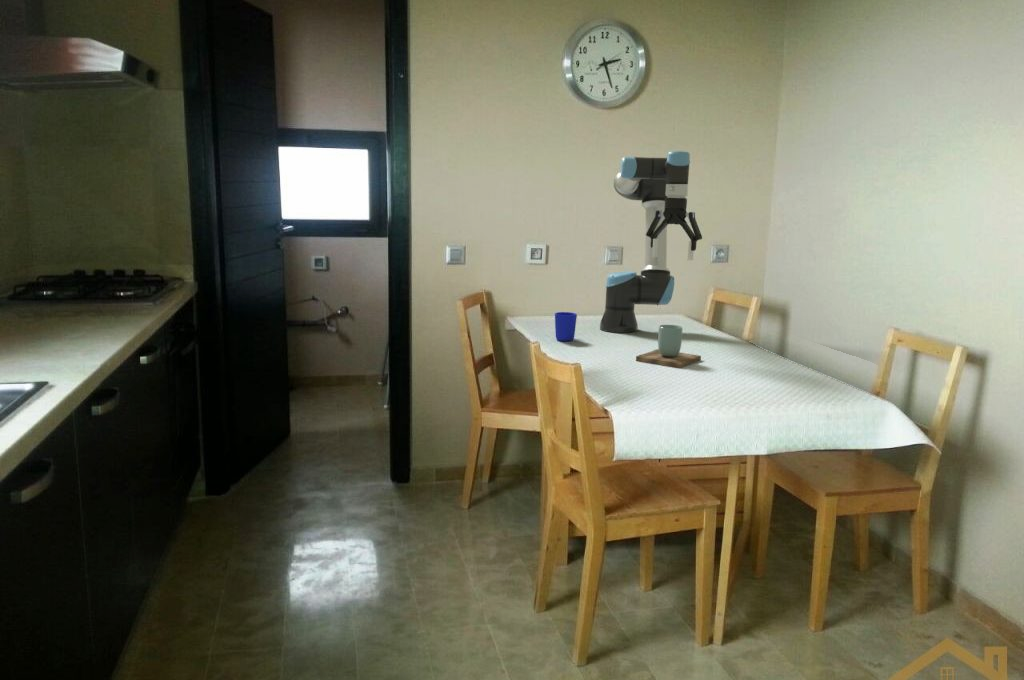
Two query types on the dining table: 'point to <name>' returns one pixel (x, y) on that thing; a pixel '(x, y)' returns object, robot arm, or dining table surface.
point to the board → (668, 359)
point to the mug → (565, 325)
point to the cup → (669, 340)
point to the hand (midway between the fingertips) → (672, 258)
